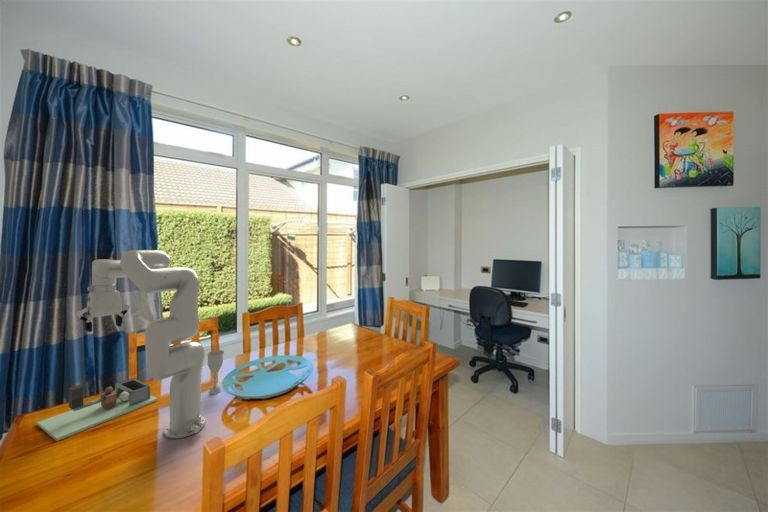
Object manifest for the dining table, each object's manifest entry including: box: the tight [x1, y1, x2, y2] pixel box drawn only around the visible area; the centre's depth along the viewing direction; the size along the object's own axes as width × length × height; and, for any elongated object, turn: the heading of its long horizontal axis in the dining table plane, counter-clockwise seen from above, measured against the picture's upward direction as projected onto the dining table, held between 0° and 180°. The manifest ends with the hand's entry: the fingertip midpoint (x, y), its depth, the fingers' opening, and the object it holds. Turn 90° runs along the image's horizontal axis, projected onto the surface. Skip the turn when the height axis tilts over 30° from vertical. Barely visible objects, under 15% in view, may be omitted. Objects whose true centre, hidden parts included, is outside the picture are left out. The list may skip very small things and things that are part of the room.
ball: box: [119, 391, 129, 401], centre depth 124 cm, size 4×4×4 cm
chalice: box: [206, 349, 225, 395], centre depth 135 cm, size 7×7×18 cm
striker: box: [68, 384, 116, 411], centre depth 114 cm, size 5×12×12 cm, turn 153°
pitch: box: [36, 394, 159, 442], centre depth 117 cm, size 18×30×1 cm, turn 153°
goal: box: [114, 378, 151, 406], centre depth 126 cm, size 13×7×7 cm, turn 63°
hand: (104, 328), depth 126 cm, fingers open, 9 cm apart
